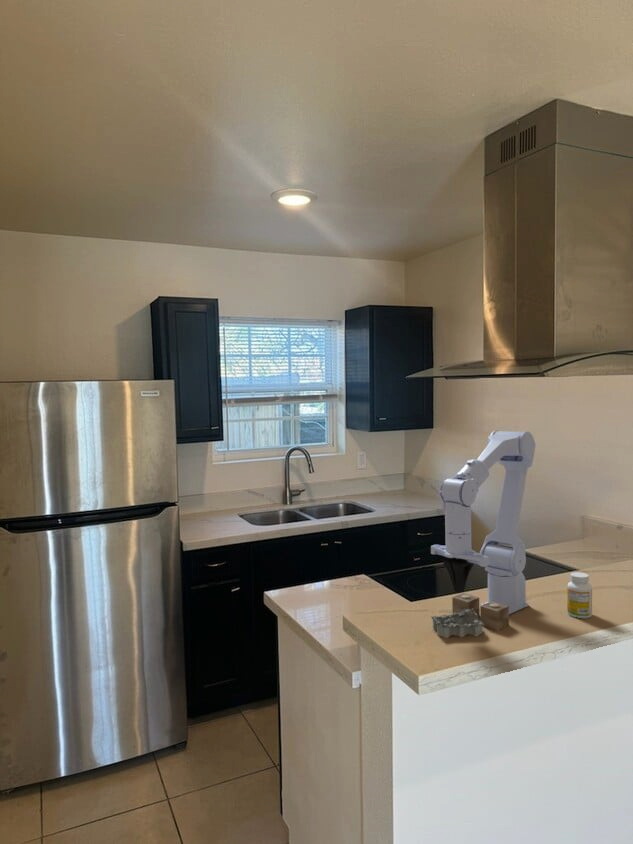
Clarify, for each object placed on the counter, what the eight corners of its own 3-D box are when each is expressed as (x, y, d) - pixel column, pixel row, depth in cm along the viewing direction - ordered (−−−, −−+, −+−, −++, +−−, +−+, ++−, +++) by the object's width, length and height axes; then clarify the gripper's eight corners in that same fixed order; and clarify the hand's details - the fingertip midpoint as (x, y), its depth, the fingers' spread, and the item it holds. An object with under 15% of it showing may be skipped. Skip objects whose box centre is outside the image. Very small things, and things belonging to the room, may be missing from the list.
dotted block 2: (491, 620, 139) (491, 600, 139) (508, 625, 135) (508, 605, 135) (480, 625, 136) (480, 605, 136) (497, 630, 133) (497, 610, 132)
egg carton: (475, 625, 137) (475, 607, 137) (485, 638, 129) (485, 620, 129) (430, 625, 137) (430, 608, 136) (437, 639, 129) (437, 621, 129)
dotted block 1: (464, 610, 145) (463, 592, 145) (479, 615, 142) (479, 596, 141) (452, 615, 142) (452, 596, 142) (468, 620, 139) (467, 601, 138)
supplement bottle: (575, 608, 144) (575, 569, 144) (596, 615, 140) (596, 574, 139) (562, 614, 141) (562, 574, 141) (584, 620, 137) (584, 579, 136)
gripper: (421, 529, 136) (423, 587, 137) (474, 540, 125) (475, 603, 125) (441, 524, 140) (442, 580, 141) (493, 534, 129) (494, 595, 130)
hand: (459, 590), depth 133 cm, fingers closed
